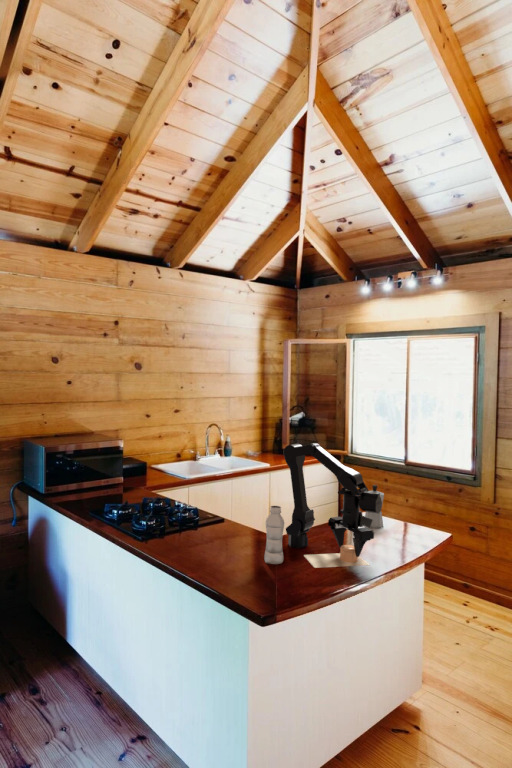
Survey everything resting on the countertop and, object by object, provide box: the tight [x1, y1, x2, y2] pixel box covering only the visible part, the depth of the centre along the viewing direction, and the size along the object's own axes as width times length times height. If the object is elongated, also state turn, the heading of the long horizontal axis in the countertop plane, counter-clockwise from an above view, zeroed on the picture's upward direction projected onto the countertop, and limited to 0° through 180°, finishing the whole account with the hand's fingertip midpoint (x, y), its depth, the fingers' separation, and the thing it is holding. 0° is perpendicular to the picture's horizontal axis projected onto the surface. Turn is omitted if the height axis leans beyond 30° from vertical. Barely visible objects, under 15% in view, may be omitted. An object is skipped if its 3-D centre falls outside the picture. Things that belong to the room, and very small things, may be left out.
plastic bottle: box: [263, 505, 285, 565], centre depth 172 cm, size 6×7×20 cm
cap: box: [339, 544, 358, 563], centre depth 176 cm, size 6×6×4 cm
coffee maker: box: [364, 484, 385, 529], centre depth 223 cm, size 15×9×18 cm, turn 144°
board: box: [303, 552, 370, 569], centre depth 175 cm, size 20×12×5 cm, turn 103°
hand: (349, 552), depth 176 cm, fingers open, 9 cm apart
